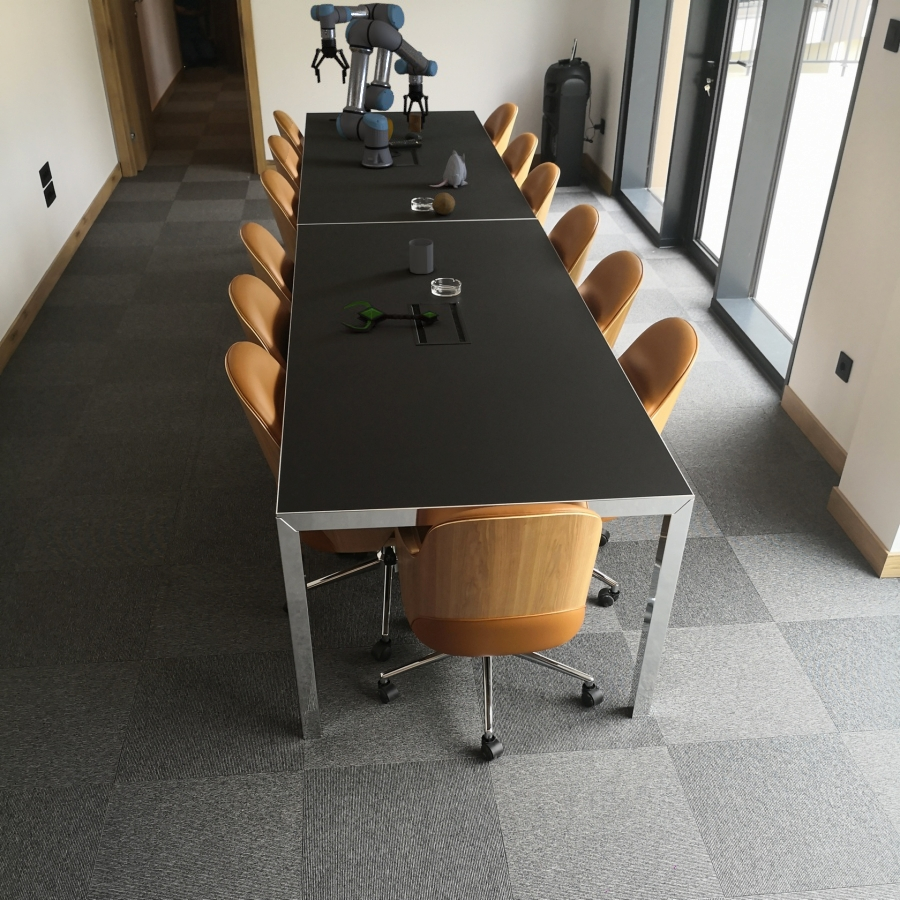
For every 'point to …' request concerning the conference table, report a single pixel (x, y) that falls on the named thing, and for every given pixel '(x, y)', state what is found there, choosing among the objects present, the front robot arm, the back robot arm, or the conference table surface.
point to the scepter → (385, 316)
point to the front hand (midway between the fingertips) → (416, 128)
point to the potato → (443, 203)
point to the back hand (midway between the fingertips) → (331, 83)
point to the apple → (389, 128)
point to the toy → (454, 171)
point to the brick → (415, 122)
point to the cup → (421, 256)
